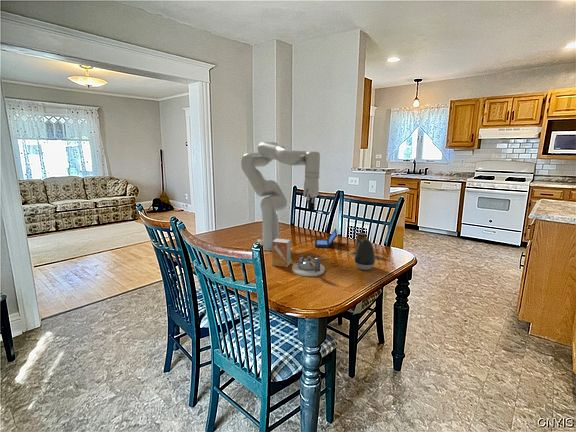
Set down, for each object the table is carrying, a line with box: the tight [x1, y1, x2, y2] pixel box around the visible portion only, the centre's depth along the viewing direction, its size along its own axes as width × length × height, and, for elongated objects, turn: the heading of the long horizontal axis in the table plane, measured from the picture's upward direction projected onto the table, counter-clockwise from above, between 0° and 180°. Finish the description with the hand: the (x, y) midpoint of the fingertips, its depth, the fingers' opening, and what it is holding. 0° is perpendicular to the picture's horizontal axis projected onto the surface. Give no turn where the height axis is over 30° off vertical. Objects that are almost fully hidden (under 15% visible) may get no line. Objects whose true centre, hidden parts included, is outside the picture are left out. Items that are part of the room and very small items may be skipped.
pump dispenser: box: [353, 238, 376, 271], centre depth 158 cm, size 10×10×15 cm
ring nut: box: [297, 255, 321, 272], centre depth 153 cm, size 16×10×8 cm, turn 21°
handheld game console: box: [314, 228, 338, 249], centre depth 200 cm, size 16×13×9 cm
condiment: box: [350, 232, 368, 256], centre depth 181 cm, size 7×8×12 cm
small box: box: [271, 238, 292, 268], centre depth 163 cm, size 8×6×13 cm
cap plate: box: [291, 262, 325, 277], centre depth 156 cm, size 16×16×2 cm
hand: (311, 209), depth 169 cm, fingers closed
